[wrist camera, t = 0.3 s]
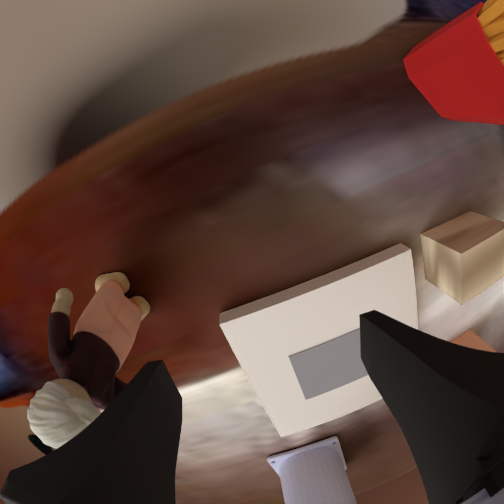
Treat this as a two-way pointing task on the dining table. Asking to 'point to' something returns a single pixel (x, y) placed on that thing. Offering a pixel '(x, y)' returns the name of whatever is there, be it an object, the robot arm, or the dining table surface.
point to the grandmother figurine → (86, 359)
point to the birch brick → (464, 255)
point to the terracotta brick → (472, 341)
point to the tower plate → (319, 339)
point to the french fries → (463, 66)
